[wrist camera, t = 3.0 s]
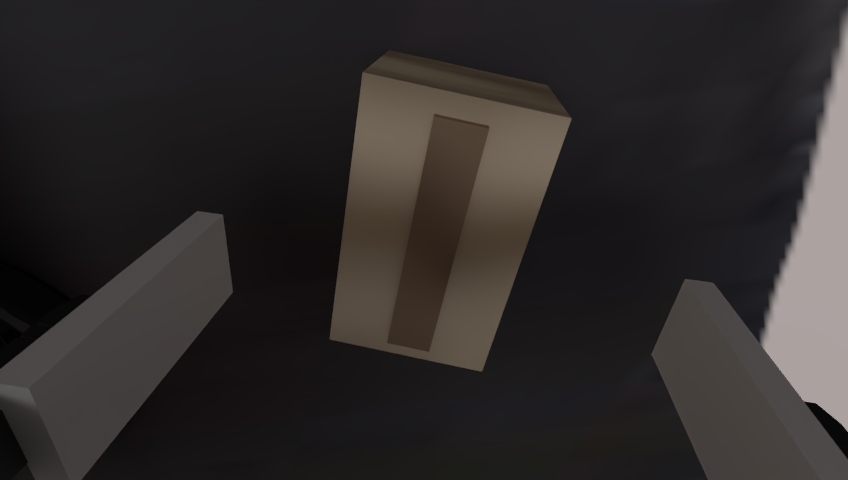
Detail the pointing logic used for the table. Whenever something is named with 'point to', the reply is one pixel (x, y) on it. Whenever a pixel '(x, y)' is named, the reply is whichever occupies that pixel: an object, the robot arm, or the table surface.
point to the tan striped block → (440, 205)
